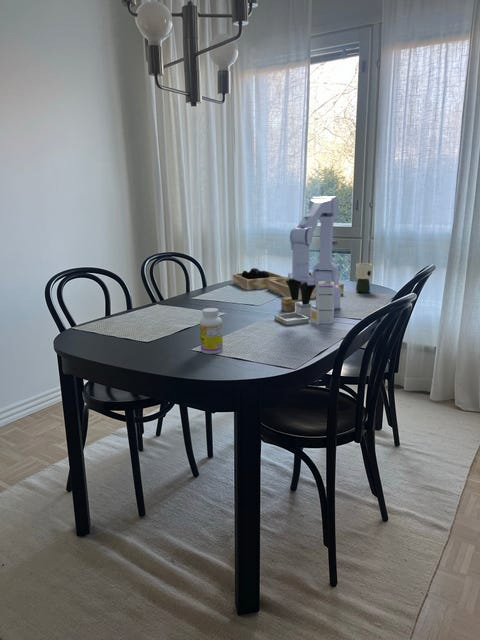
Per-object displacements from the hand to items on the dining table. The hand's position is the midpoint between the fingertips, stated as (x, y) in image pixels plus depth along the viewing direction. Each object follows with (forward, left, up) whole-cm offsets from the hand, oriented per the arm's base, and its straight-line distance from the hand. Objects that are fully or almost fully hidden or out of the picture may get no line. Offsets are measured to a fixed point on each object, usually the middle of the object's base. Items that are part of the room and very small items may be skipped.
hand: (300, 302), depth 166 cm
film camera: (-17, -74, -9) cm, 77 cm away
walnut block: (-7, -21, -8) cm, 24 cm away
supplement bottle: (+37, +13, -9) cm, 41 cm away
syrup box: (-11, 0, -9) cm, 14 cm away
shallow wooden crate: (-18, -74, -8) cm, 76 cm away
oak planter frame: (-30, -48, -8) cm, 57 cm away
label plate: (-6, 0, -8) cm, 10 cm away
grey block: (-8, -12, -8) cm, 16 cm away
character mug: (-54, -36, -9) cm, 65 cm away
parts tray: (0, -6, -8) cm, 10 cm away
